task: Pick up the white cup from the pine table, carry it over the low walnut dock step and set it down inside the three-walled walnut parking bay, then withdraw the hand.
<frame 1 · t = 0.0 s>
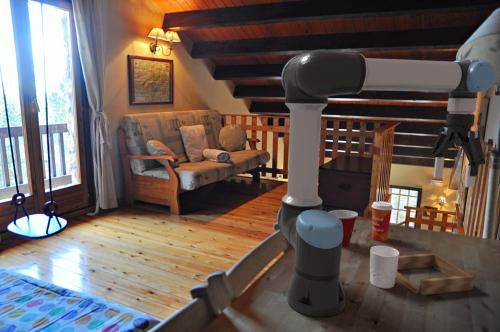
hand: (452, 181, 117), 28 cm above the table, tool pointing down, fingers open, 13 cm apart
paper cup: (379, 239, 145), on the table
white cup: (381, 283, 110), on the table
bay: (430, 278, 113), on the table
plastic cup: (340, 244, 139), on the table
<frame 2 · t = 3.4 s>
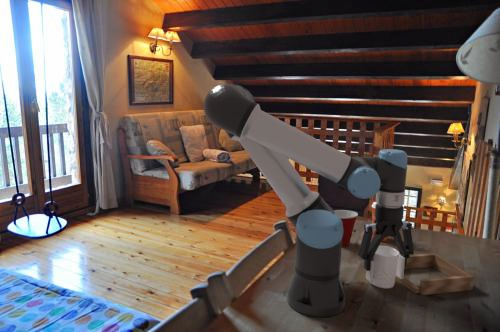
hand: (384, 278, 110), 1 cm above the table, tool pointing down, fingers open, 9 cm apart
nothing on the table moved.
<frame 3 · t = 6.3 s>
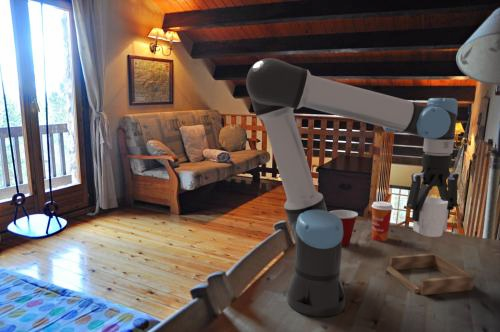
hand: (429, 230, 110), 15 cm above the table, tool pointing down, fingers closed on white cup, 7 cm apart
white cup: (429, 233, 110), point 14 cm above the table, touching gripper
everything else where it was.
when the fingers open (2 cm above the table, at t = 9.1 s): white cup drops 1 cm, resting in bay.
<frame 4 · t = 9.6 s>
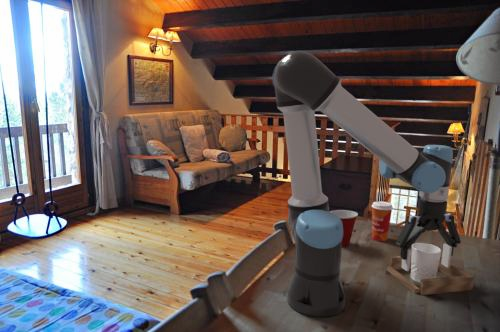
hand: (425, 267, 112), 4 cm above the table, tool pointing down, fingers open, 13 cm apart
white cup: (422, 279, 113), resting in bay
everything else where it was.
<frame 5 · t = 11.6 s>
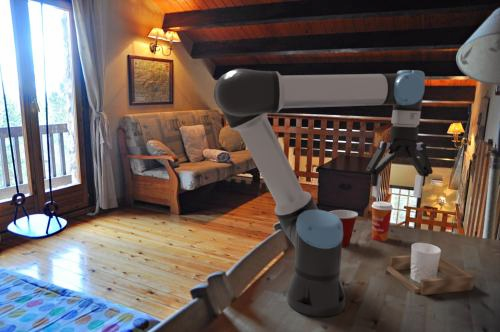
hand: (396, 196, 112), 24 cm above the table, tool pointing down, fingers open, 13 cm apart
nothing on the table moved.
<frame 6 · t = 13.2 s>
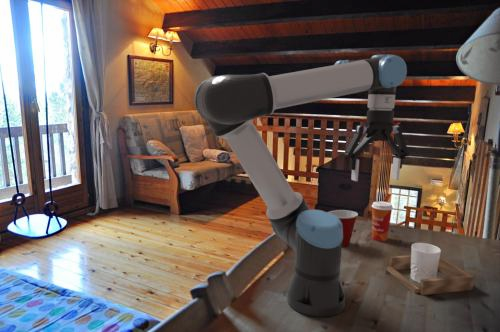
hand: (374, 179, 115), 29 cm above the table, tool pointing down, fingers open, 13 cm apart
nothing on the table moved.
at the end: white cup inside the target area (1.5 cm from its centre), resting in bay; white cup tilted 0°; the gripper is holding nothing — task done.
